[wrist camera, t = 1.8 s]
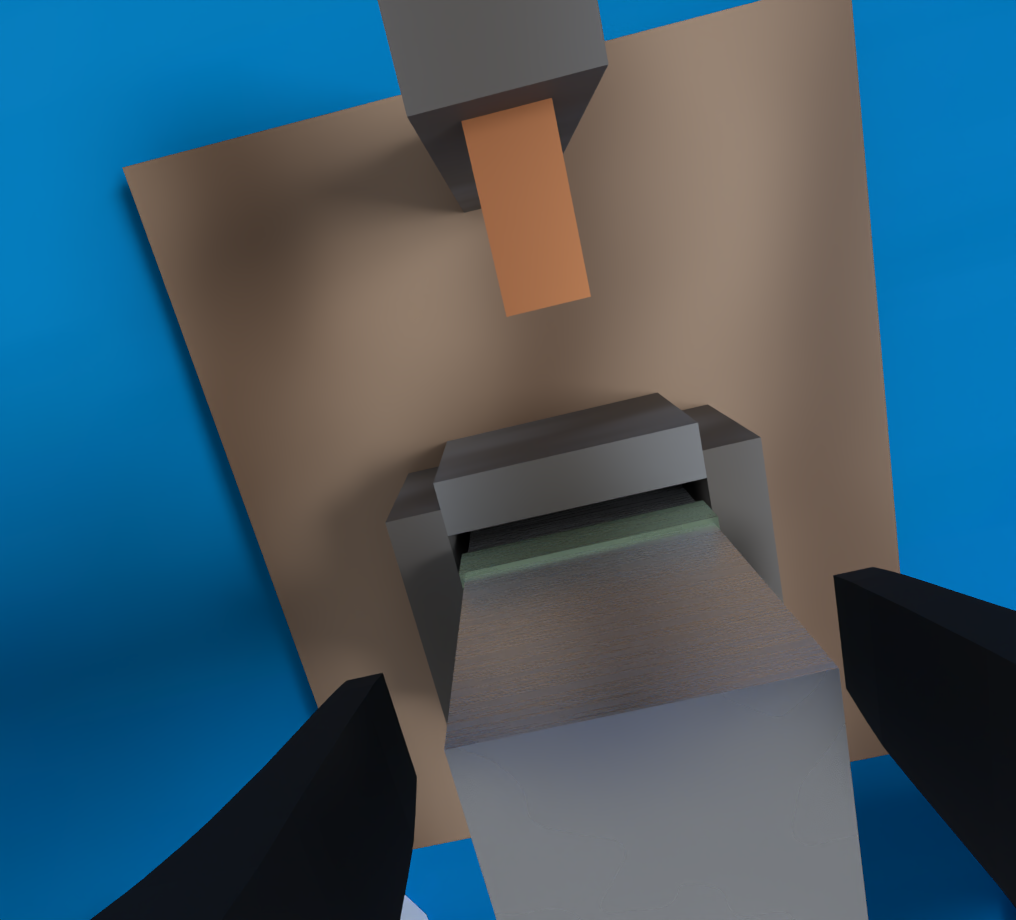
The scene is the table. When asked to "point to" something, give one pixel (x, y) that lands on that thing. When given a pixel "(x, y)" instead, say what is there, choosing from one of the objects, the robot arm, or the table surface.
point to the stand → (539, 320)
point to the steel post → (646, 725)
